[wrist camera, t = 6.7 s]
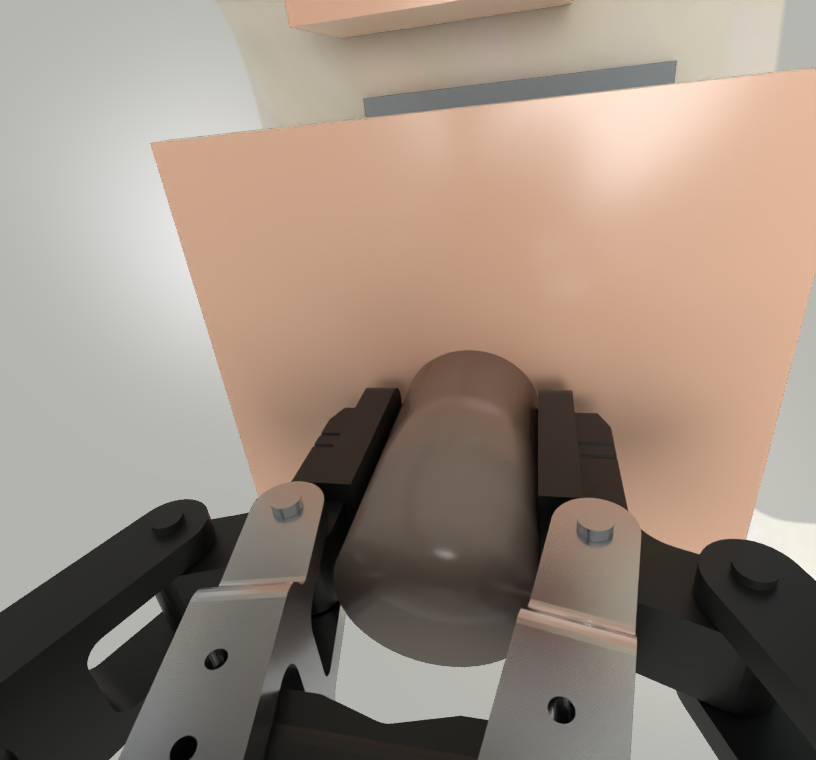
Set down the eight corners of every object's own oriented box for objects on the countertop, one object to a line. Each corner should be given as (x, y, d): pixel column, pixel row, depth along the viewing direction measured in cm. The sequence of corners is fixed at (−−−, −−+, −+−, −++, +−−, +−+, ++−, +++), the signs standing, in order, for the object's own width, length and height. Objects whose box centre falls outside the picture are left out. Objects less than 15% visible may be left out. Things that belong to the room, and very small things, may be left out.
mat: (395, 326, 37) (392, 330, 36) (366, 98, 30) (363, 98, 30) (645, 323, 33) (646, 327, 32) (674, 61, 26) (676, 60, 26)
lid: (292, 556, 18) (188, 757, 13) (172, 139, 12) (-124, 187, 7) (716, 596, 15) (815, 882, 10) (844, 64, 9) (1301, 41, 4)
